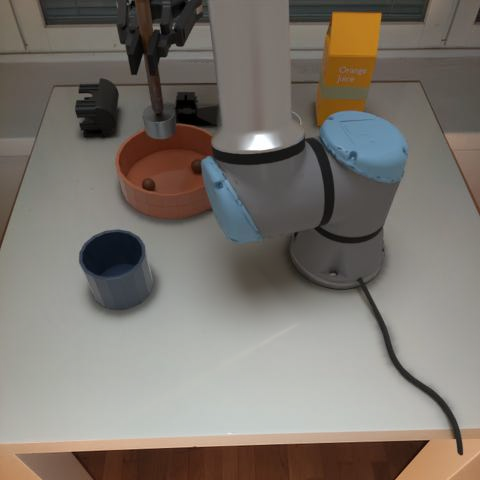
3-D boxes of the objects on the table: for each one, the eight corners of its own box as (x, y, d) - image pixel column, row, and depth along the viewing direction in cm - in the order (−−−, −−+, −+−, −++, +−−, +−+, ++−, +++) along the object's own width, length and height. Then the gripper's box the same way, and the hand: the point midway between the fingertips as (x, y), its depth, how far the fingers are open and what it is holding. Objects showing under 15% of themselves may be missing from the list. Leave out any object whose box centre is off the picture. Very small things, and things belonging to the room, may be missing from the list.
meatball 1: (158, 191, 86) (156, 181, 84) (146, 196, 85) (144, 186, 83) (152, 184, 87) (150, 173, 85) (140, 188, 86) (138, 178, 84)
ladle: (182, 132, 76) (167, -6, 59) (154, 143, 74) (130, 4, 58) (167, 116, 78) (149, -22, 61) (140, 126, 77) (114, -12, 60)
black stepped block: (156, 127, 97) (153, 106, 93) (159, 106, 101) (156, 85, 97) (216, 126, 97) (215, 105, 93) (217, 105, 101) (216, 85, 97)
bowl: (245, 195, 86) (246, 169, 81) (150, 236, 81) (145, 210, 76) (194, 139, 95) (192, 111, 90) (105, 172, 89) (98, 145, 84)
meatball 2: (206, 172, 88) (205, 161, 86) (195, 177, 88) (194, 166, 86) (200, 165, 90) (199, 154, 88) (189, 169, 89) (188, 159, 87)
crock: (163, 295, 74) (156, 261, 67) (107, 321, 71) (94, 289, 65) (137, 255, 78) (128, 220, 72) (83, 279, 76) (69, 245, 69)
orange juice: (360, 127, 98) (385, 23, 81) (317, 126, 98) (333, 22, 81) (355, 104, 102) (379, 1, 85) (314, 103, 102) (330, 0, 85)
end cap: (118, 137, 95) (111, 106, 89) (83, 139, 95) (73, 107, 89) (122, 108, 101) (115, 77, 95) (88, 109, 100) (79, 78, 95)
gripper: (214, 10, 78) (200, 94, 65) (123, 7, 78) (92, 90, 65) (212, -44, 71) (196, 37, 59) (114, -47, 72) (77, 33, 59)
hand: (141, 65), depth 62 cm, fingers closed on ladle, 2 cm apart
